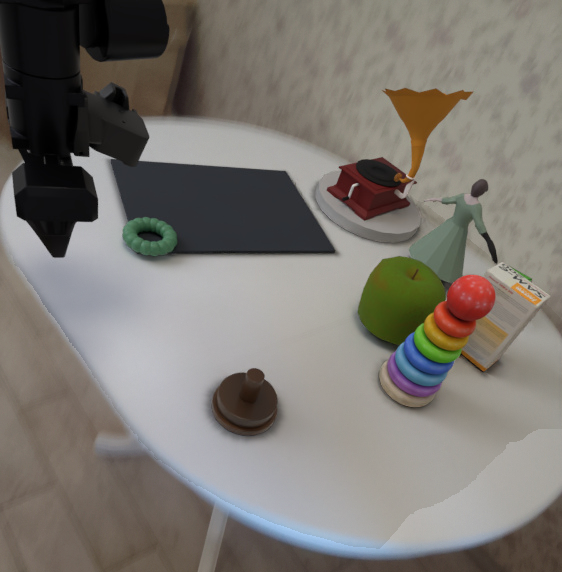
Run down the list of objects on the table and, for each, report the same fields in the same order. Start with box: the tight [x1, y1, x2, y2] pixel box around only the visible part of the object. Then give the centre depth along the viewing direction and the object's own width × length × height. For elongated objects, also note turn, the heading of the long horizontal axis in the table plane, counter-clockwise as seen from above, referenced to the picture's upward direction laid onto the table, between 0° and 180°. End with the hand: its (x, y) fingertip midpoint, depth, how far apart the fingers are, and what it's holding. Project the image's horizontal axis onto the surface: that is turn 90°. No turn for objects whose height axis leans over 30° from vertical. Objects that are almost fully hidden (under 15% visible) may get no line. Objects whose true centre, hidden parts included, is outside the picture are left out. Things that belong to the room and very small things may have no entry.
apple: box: [357, 255, 447, 346], centre depth 72 cm, size 11×11×11 cm
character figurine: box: [408, 178, 499, 283], centre depth 81 cm, size 16×8×18 cm, turn 42°
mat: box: [110, 158, 336, 255], centre depth 85 cm, size 32×24×1 cm
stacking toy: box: [378, 274, 496, 408], centre depth 62 cm, size 8×8×19 cm
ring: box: [122, 217, 177, 257], centre depth 72 cm, size 8×8×2 cm
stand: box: [210, 367, 279, 436], centre depth 57 cm, size 8×8×6 cm
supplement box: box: [460, 261, 552, 372], centre depth 73 cm, size 8×5×13 cm, turn 43°
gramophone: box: [315, 87, 474, 244], centre depth 88 cm, size 20×20×25 cm
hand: (54, 227), depth 52 cm, fingers open, 9 cm apart
